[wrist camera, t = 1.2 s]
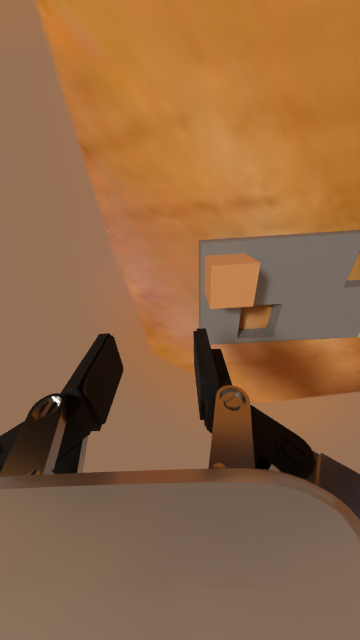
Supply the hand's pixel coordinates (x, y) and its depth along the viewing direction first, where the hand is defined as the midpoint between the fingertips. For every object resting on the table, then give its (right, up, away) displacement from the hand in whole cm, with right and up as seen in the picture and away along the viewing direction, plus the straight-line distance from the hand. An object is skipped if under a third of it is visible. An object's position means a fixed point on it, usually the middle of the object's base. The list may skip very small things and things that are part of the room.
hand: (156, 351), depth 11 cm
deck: (+21, +7, +17) cm, 27 cm away
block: (+7, +8, +13) cm, 17 cm away
